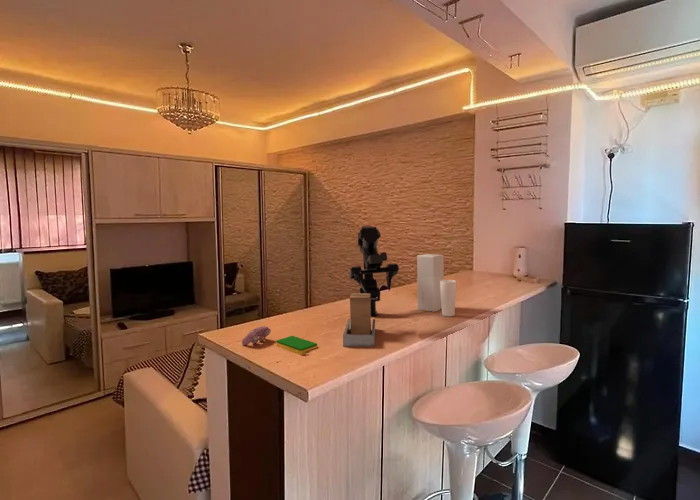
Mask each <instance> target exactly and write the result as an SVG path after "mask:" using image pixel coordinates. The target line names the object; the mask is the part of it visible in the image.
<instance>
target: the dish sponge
mask: <svg viewBox="0 0 700 500" xmlns="http://www.w3.org/2000/svg"><path fill="white" fill-rule="evenodd" d="M275 342H276V343H275V344H276V347H278V348H280V347H281V348H280V349H283V350H286V351H289V352H290V353H291V352H292V353H294V354H295V355H299V356H303V355H306V354H309V353H310V351H311V350H314V349H316V348H318V343H316V342H314V341H310V340H307V339H304V338H300V337H298V336H295V335H290V336H287V337H283V338H280V339H276V340H275Z"/></svg>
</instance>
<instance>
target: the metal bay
mask: <svg viewBox="0 0 700 500" xmlns="http://www.w3.org/2000/svg"><path fill="white" fill-rule="evenodd" d="M375 339H376V318H373V319H372V324H371V335H369V334H351V318H348V319H347V322H346V324H345V328H344V331H343V334H342V347H345V348H346V347H348V348H349V347H350V348H351V347H353V348H354V347H359V348H361V347H362V348H363V347H367V348H370V347H371V348H374V347H375Z"/></svg>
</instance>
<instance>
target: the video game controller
mask: <svg viewBox="0 0 700 500" xmlns="http://www.w3.org/2000/svg"><path fill="white" fill-rule="evenodd" d="M271 331H272V330H271V328H269V327H268V326H266V325H263V326H257V327H255V328H254V329H251V330H250V331H249V332H248V333H247V334H246V335H245V337H244V338H242V341H241V344H242V346H247V345H249V344H251V343H252V344H253V345H256V344H257V343H259V342H260V343H261V341H262V342H263V341H265V339H266V338H267V337H268V336H269V335H270V334H271ZM255 343H256V344H255Z"/></svg>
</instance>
